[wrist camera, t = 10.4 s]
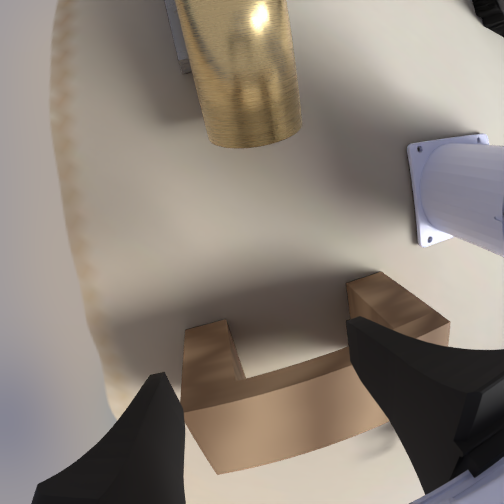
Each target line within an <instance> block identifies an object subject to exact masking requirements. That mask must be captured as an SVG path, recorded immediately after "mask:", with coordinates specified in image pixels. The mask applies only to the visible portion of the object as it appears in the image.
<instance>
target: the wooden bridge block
mask: <svg viewBox="0 0 504 504" xmlns="http://www.w3.org/2000/svg"><path fill="white" fill-rule="evenodd" d="M346 287H347V294H348V302H349V311H350V319H353V318H356V317H358V316H361V317H364V318H366V319H369V320H371V321H373V322H375V323H378V324H380V325H382V326H384V327H387V328H389V329H392V330H394V331H396V332H399V333H401V334H404V335H407V336H410V337H413V338H416V339H419V340H422V341H425V342H429V343H433V344H437V345H442V346H447V347H448V342H449V332H450V321H448V320H447V319H446V318H445V317H443V316H442V315H441V314H439V313H438V312H436V311H435V310H434V309H432V308H431V307H430V306H428V305H427V304H426V303H424V302H423V301H422V300H420V299H419V298H418V297H416V296H415V295H413V294H412V293H411V292H409V291H408V290H406V289H405V288H404V287H402V286H401V285H399V284H398V283H397V282H395V281H394V280H392V279H391V278H390V277H388V276H387V275H385V274H384V273H383V272H378V273H375V274H372V275H369V276H366V277H363V278H360V279H357V280H354V281H351V282H348V283H346ZM180 403H181V405H182V407H183V411H184V421H185V423H186V425H187V427H188V429H189V430H190V432H191V434H192V435H193V437H194V439H195V440H196V442H197V444H198V445H199V447H200V449H201V450H202V452H203V453H204V455H205V457H206V458H207V460H208V461H209V463H210V465H211V466H212V468H213V469H214V471H215V472H216V474H217V475H219V474H224V473H229V472H234V471H239V470H244V469H248V468H253V467H257V466H261V465H265V464H269V463H273V462H277V461H281V460H284V459H288V458H291V457H295V456H298V455H301V454H305V453H308V452H311V451H314V450H317V449H320V448H323V447H326V446H329V445H332V444H335V443H337V442H340V441H343V440H345V439H348V438H351V437H353V436H356V435H358V434H361V433H363V432H366V431H368V430H371V429H373V428H375V427H378V426H380V425H382V424H385V423H387V422H389V419H388V418H387V416H386V415H385V414H384V412H383V411H382V409H381V408H380V407H379V405H378V404H377V403H376V401H375V400H374V399H373V397H372V396H371V394H370V393H369V392H368V390H367V389H366V388H365V386H364V385H363V383H362V382H361V381H360V379H359V377H358V375H357V373H356V371H355V369H354V368H353V366H352V364H351V362H350V354H349V347H346V348H343V349H340V350H338V351H335V352H332V353H329V354H326V355H323V356H320V357H317V358H314V359H311V360H308V361H305V362H302V363H299V364H296V365H292V366H289V367H286V368H282V369H279V370H276V371H272V372H269V373H265V374H262V375H258V376H255V377H251V378H247V379H246V377H245V374H244V371H243V369H242V366H241V363H240V360H239V357H238V354H237V351H236V348H235V345H234V342H233V339H232V336H231V333H230V330H229V327H228V324H227V321H226V319H225V320H221V321H217V322H214V323H210V324H206V325H202V326H198V327H194V328H191V329H187V330H185V340H184V353H183V367H182V383H181V400H180Z"/></svg>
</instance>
